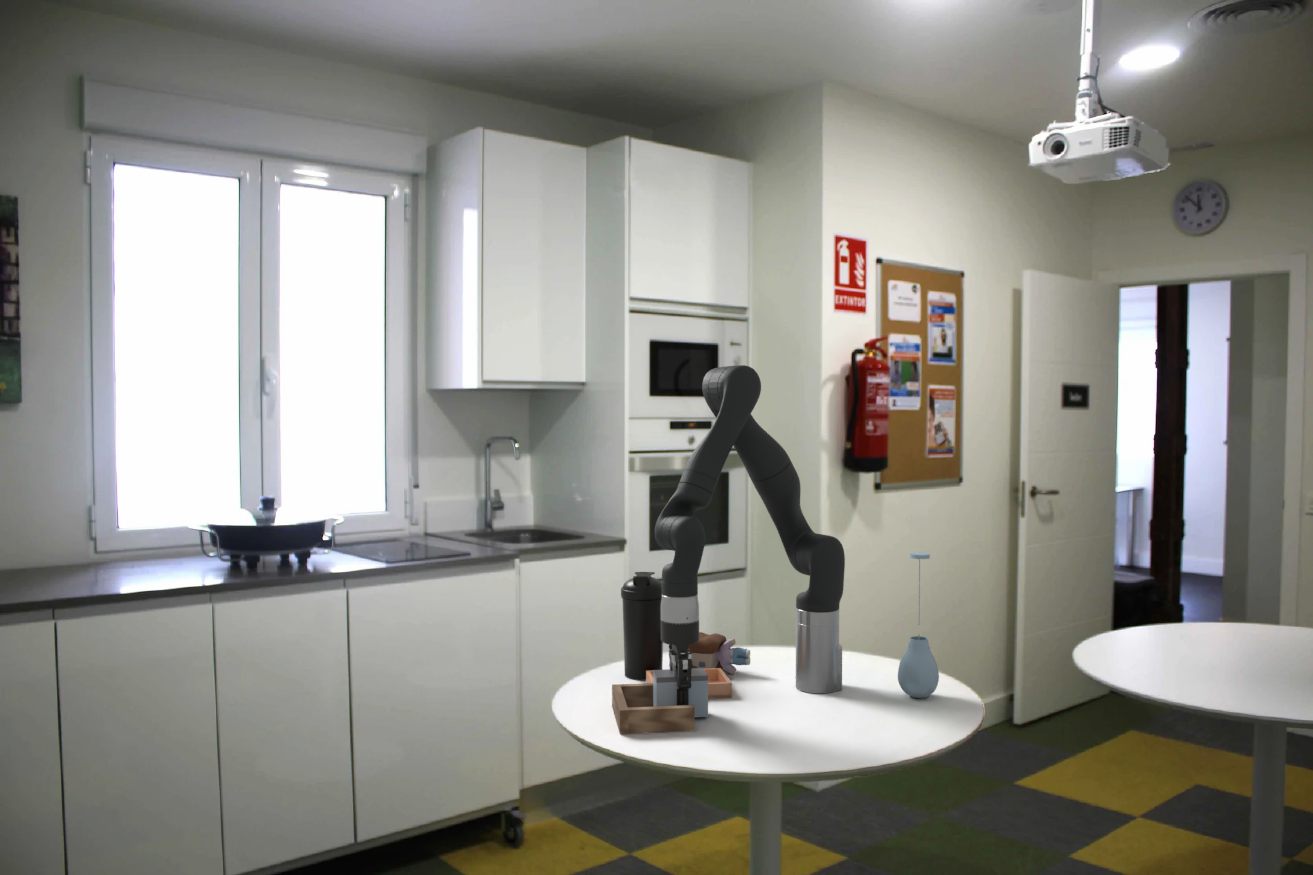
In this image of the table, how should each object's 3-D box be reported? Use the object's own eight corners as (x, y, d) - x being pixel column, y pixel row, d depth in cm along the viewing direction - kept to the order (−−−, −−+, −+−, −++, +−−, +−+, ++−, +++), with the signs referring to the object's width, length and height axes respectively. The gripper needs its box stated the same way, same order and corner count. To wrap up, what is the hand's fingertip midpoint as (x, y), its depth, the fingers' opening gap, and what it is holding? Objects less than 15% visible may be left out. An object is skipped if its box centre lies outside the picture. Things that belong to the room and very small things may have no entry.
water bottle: (667, 669, 224) (667, 570, 224) (663, 681, 214) (663, 577, 214) (624, 668, 225) (624, 569, 225) (618, 680, 215) (618, 577, 215)
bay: (680, 703, 198) (680, 682, 198) (694, 730, 181) (694, 707, 181) (612, 706, 197) (612, 684, 196) (619, 734, 179) (619, 710, 179)
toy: (746, 679, 216) (681, 675, 220) (753, 670, 224) (691, 666, 228) (745, 640, 216) (680, 637, 220) (753, 632, 224) (690, 629, 228)
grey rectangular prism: (703, 707, 193) (703, 667, 193) (708, 716, 188) (707, 675, 187) (653, 710, 192) (653, 669, 192) (656, 718, 186) (656, 677, 186)
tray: (720, 681, 215) (720, 667, 215) (731, 697, 203) (731, 683, 203) (646, 684, 212) (646, 670, 212) (652, 700, 200) (652, 685, 200)
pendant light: (915, 704, 198) (916, 557, 197) (889, 693, 205) (890, 552, 205) (947, 699, 201) (948, 555, 200) (920, 689, 209) (921, 550, 208)
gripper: (705, 624, 183) (705, 714, 183) (692, 609, 197) (693, 691, 197) (665, 626, 182) (666, 715, 182) (656, 610, 196) (656, 693, 196)
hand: (680, 702), depth 190 cm, fingers closed on grey rectangular prism, 5 cm apart
